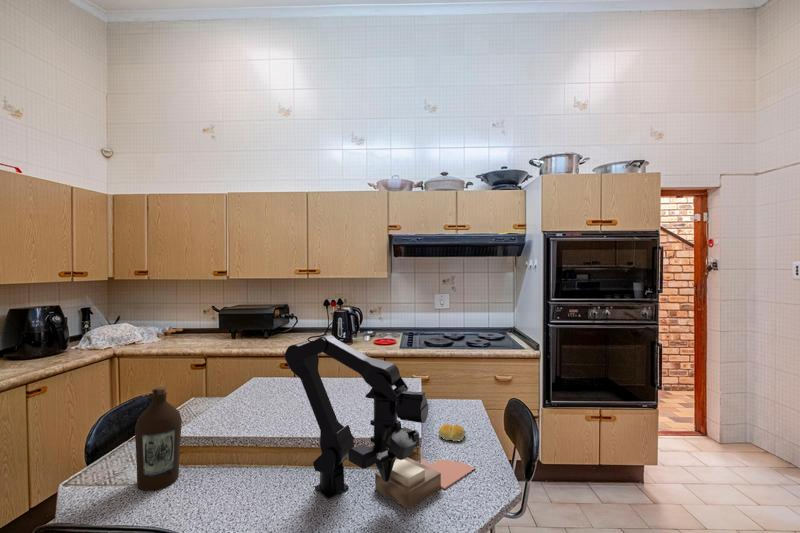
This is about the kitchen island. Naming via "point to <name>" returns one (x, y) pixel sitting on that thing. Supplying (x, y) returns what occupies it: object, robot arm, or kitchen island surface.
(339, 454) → the robot arm
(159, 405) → the olive oil
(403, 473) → the cream rectangular block
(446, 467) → the mat
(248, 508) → the kitchen island surface
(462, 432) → the bread roll
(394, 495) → the panel
